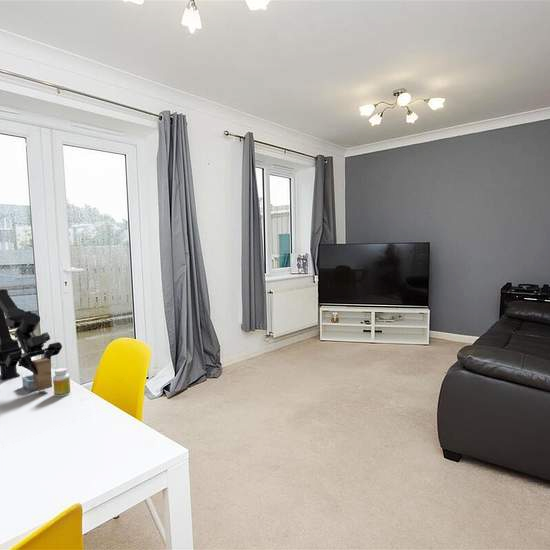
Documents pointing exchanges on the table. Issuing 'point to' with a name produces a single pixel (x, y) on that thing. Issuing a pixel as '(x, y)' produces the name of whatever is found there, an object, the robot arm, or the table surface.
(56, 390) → the supplement bottle
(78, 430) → the table surface
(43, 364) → the walnut block
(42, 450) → the table surface
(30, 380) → the bin
